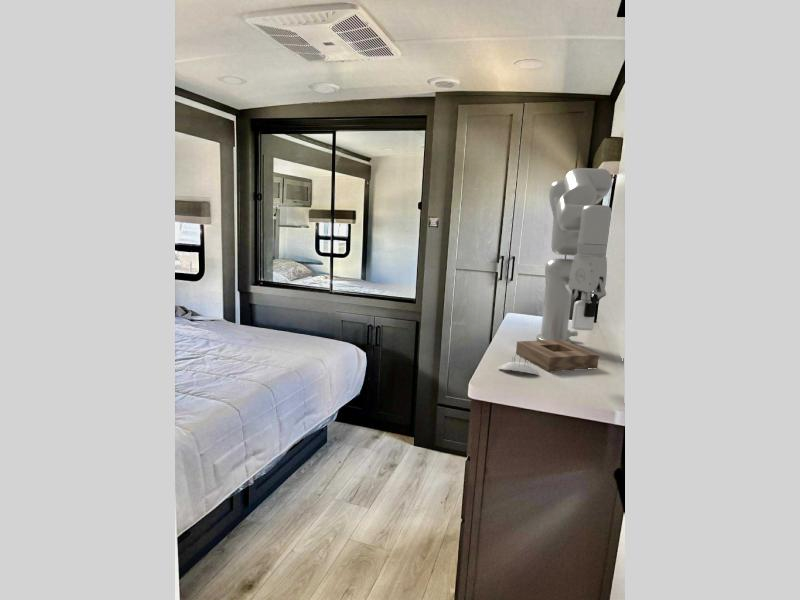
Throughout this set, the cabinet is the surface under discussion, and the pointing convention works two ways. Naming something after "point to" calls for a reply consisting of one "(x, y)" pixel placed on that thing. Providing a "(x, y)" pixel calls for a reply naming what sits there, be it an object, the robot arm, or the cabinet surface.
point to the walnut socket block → (556, 355)
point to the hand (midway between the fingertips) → (583, 314)
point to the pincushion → (519, 367)
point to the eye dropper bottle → (581, 315)
